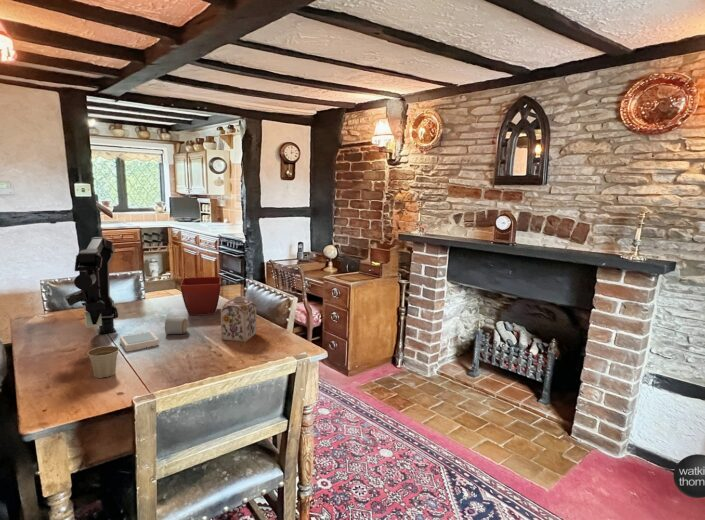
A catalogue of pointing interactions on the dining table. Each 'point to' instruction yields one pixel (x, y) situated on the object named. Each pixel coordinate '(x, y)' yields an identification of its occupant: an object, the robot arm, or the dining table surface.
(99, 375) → the flower pot
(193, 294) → the plant pot
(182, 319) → the ceramic mug
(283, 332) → the dining table surface
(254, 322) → the decorative jar
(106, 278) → the robot arm
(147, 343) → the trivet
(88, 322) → the cube
